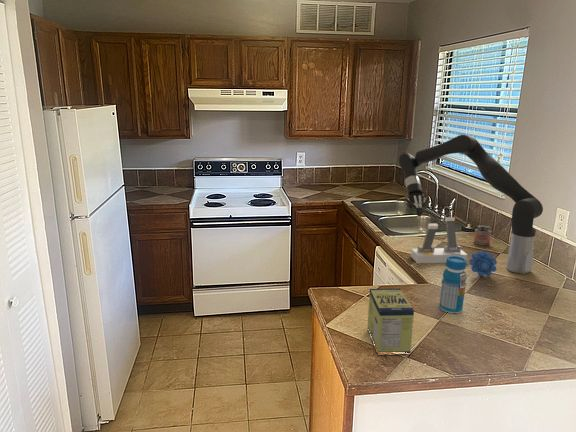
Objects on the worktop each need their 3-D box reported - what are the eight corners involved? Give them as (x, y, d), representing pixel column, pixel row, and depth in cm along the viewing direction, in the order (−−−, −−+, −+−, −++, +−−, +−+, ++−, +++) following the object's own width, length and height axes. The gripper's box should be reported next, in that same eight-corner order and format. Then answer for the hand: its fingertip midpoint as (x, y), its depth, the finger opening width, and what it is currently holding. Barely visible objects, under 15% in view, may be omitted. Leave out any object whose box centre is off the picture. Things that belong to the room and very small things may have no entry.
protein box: (396, 329, 147) (400, 287, 143) (410, 355, 132) (415, 310, 128) (366, 329, 147) (369, 287, 142) (377, 356, 132) (380, 310, 127)
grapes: (469, 279, 186) (473, 253, 183) (466, 273, 192) (469, 247, 189) (498, 281, 184) (502, 255, 181) (493, 274, 191) (497, 249, 187)
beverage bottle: (441, 313, 157) (447, 262, 151) (436, 302, 165) (442, 254, 160) (465, 315, 156) (472, 264, 150) (459, 304, 164) (465, 255, 158)
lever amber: (429, 249, 208) (437, 223, 198) (430, 252, 206) (438, 225, 196) (420, 250, 207) (428, 223, 197) (421, 252, 206) (429, 226, 196)
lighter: (473, 243, 230) (475, 225, 227) (473, 241, 233) (476, 224, 230) (489, 245, 226) (492, 227, 224) (489, 244, 229) (492, 226, 226)
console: (458, 255, 213) (459, 242, 211) (466, 262, 204) (468, 249, 203) (410, 256, 212) (411, 243, 210) (416, 263, 203) (418, 250, 201)
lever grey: (456, 251, 208) (453, 217, 210) (457, 251, 206) (455, 217, 209) (447, 251, 208) (444, 217, 210) (448, 251, 206) (446, 217, 208)
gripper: (402, 182, 219) (408, 212, 210) (428, 182, 219) (435, 211, 211) (399, 190, 225) (404, 219, 217) (423, 190, 226) (430, 219, 217)
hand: (419, 215), depth 214 cm, fingers closed
